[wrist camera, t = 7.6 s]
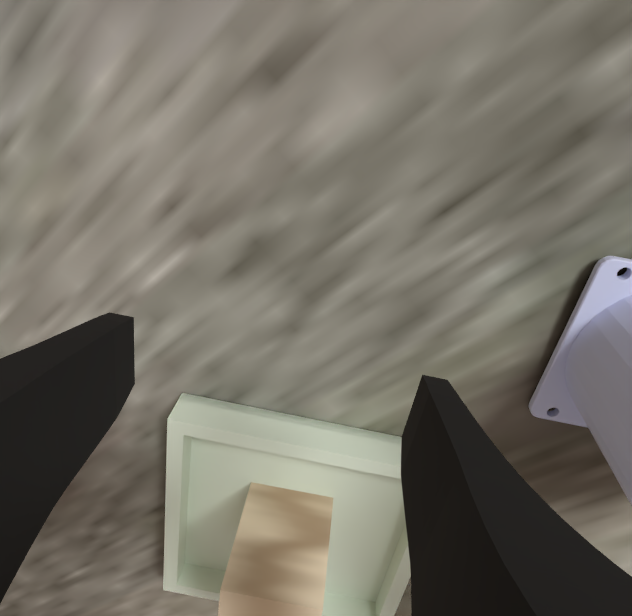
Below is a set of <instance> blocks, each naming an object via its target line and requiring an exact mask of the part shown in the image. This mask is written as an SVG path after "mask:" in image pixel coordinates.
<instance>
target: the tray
mask: <svg viewBox="0 0 632 616" xmlns="http://www.w3.org/2000/svg"><path fill="white" fill-rule="evenodd" d="M401 443H402V437H399V436H394V435H389V434H384V433H379V432H375V431H370V430H365V429H360V428H355V427H350V426H345V425H340V424H335V423H330V422H325V421H320V420H315V419H310V418H305V417H300V416H295V415H290V414H285V413H280V412H275V411H270V410H265V409H260V408H255V407H250V406H245V405H240V404H235V403H230V402H226V401H221V400H216V399H211V398H206V397H201V396H196V395H191V394H186V393H182V394H181V396H180V397H179V399H178V401H177V403H176V405H175V406H174V408H173V410H172V412H171V413H170V415H169V417H168V419H167V456H166V496H165V537H164V578H163V590H166V591H171V592H176V593H181V594H185V595H190V596H195V597H200V598H205V599H209V600H214V601H219V599H220V589H221V586H222V582H223V579H224V575H225V572H226V568H227V565H228V561H229V558H230V554H231V551H232V547H233V544H234V540H235V537H236V533H237V530H238V526H239V523H240V519H241V516H242V512H243V509H244V505H245V502H246V498H247V495H248V491H249V488H250V484H251V482H253V483H258V484H264V485H269V486H274V487H280V488H285V489H290V490H295V491H301V492H306V493H311V494H317V495H322V496H327V497H332V498H333V508H332V519H331V529H330V540H329V551H328V561H327V572H326V582H325V593H324V604H323V612H322V615H321V616H394V615H395V612H396V610H397V608H398V605H399V603H400V601H401V598H402V596H403V593H404V591H405V589H406V586H407V584H408V582H409V579H410V577H411V569H410V557H409V548H408V539H407V530H406V520H405V511H404V502H403V492H402V482H401Z"/></svg>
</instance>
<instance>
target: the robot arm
mask: <svg viewBox="0 0 632 616" xmlns="http://www.w3.org/2000/svg"><path fill="white" fill-rule="evenodd" d="M625 267H627V271H626V272H625V273H624V274H623V275H621V276H617V272H618V271H619V270H620V269H622V268H625ZM134 384H135V377H134V317H129V316H124V315H119V314H114V313H107V314H104V315H102V316H99V317H97V318H94V319H92V320H90V321H87V322H85V323H83V324H81V325H78V326H76V327H74V328H72V329H70V330H67V331H65V332H63V333H61V334H58V335H56V336H54V337H52V338H49V339H47V340H45V341H43V342H40V343H38V344H36V345H33V346H31V347H29V348H26V349H24V350H21V351H18V352H16V353H13V354H11V355H8V356H6V357H3V358H1V359H0V603H1V601H2V599H3V597H4V595H5V593H6V591H7V590H8V588H9V586H10V584H11V582H12V580H13V578H14V577H15V575H16V573H17V571H18V569H19V567H20V566H21V564H22V562H23V560H24V558H25V556H26V555H27V553H28V551H29V549H30V547H31V545H32V544H33V542H34V540H35V539H36V537H37V535H38V533H39V532H40V530H41V528H42V526H43V525H44V523H45V521H46V519H47V518H48V516H49V514H50V512H51V511H52V509H53V507H54V506H55V504H56V503H57V501H58V500H59V498H60V497H61V495H62V494H63V492H64V491H65V489H66V488H67V487H68V485H69V484H70V482H71V481H72V480H73V478H74V477H75V476H76V474H77V473H78V471H79V470H80V469H81V467H82V466H83V464H84V463H85V462H86V460H87V459H88V457H89V456H90V455H91V453H92V452H93V451H94V449H95V448H96V446H97V445H98V444H99V442H100V441H101V439H102V438H103V437H104V435H105V434H106V432H107V431H108V430H109V428H110V427H111V425H112V424H113V422H114V421H115V419H116V418H117V416H118V415H119V413H120V411H121V409H122V407H123V405H124V404H125V402H126V400H127V398H128V396H129V394H130V392H131V390H132V388H133V386H134ZM528 407H529V410H530V412H531V414H532V415H533V416H535V417H537V418H542V419H547V420H552V421H557V422H562V423H567V424H572V425H577V426H582V427H587V428H589V430H590V432H591V434H592V436H593V437H594V439H595V441H596V443H597V445H598V446H599V448H600V450H601V452H602V454H603V455H604V457H605V459H606V461H607V463H608V464H609V466H610V468H611V470H612V472H613V473H614V475H615V477H616V479H617V481H618V482H619V484H620V486H621V488H622V490H623V491H624V493H625V495H626V497H627V499H628V500H629V502H630V504H631V506H632V259H626V258H621V257H616V256H606V257H603V258H602V259H600V260H599V261H598V262H597V263H596V265H595V266H594V268H593V270H592V273H591V275H590V277H589V279H588V281H587V283H586V285H585V287H584V289H583V291H582V293H581V296H580V298H579V300H578V302H577V304H576V306H575V308H574V310H573V312H572V314H571V316H570V319H569V321H568V323H567V325H566V327H565V329H564V331H563V333H562V335H561V337H560V339H559V342H558V344H557V346H556V348H555V350H554V352H553V354H552V356H551V358H550V360H549V362H548V365H547V367H546V369H545V371H544V373H543V375H542V377H541V379H540V381H539V383H538V385H537V388H536V390H535V392H534V394H533V396H532V398H531V400H530V402H529V406H528ZM550 408H555V409H554V410H552V411H548V410H549V409H550ZM401 482H402V492H403V502H404V511H405V520H406V530H407V539H408V548H409V557H410V569H411V600H412V616H632V577H631V576H630V575H629V574H627V573H626V572H625V571H623V570H622V569H621V568H620V567H618V566H617V565H616V564H614V563H613V562H612V561H611V560H609V559H608V558H607V557H606V556H605V555H603V554H602V553H601V552H600V551H598V550H597V549H596V548H595V547H594V546H592V545H591V544H590V543H589V542H588V541H587V540H586V539H584V538H583V537H582V536H581V535H580V534H579V533H578V532H577V531H575V530H574V529H573V528H572V527H571V526H570V525H569V524H568V523H566V522H565V521H564V520H563V519H562V518H561V517H560V516H559V515H558V514H557V513H556V512H555V511H554V510H553V509H552V508H551V507H550V506H549V505H548V504H547V503H546V502H545V501H544V500H543V499H542V498H541V497H540V496H539V495H538V494H537V493H536V492H535V491H534V490H533V489H532V488H531V487H530V486H529V485H528V484H527V483H526V482H525V481H524V479H523V478H522V477H521V476H520V475H519V474H518V473H517V472H516V470H515V469H514V468H513V467H512V466H511V464H510V463H509V462H508V461H507V460H506V459H505V457H504V456H503V455H502V454H501V453H500V451H499V450H498V449H497V448H496V446H495V445H494V444H493V443H492V441H491V440H490V439H489V437H488V436H487V435H486V433H485V432H484V431H483V429H482V428H481V427H480V425H479V424H478V423H477V421H476V420H475V418H474V417H473V416H472V414H471V413H470V411H469V410H468V409H467V407H466V406H465V404H464V403H463V401H462V400H461V399H460V397H459V396H458V394H457V393H456V391H455V390H454V388H453V387H452V386H451V384H450V383H449V382H448V380H445V379H440V378H435V377H430V376H425V375H422V378H421V381H420V384H419V387H418V390H417V393H416V396H415V399H414V402H413V405H412V408H411V411H410V414H409V417H408V420H407V423H406V426H405V429H404V432H403V435H402V443H401Z"/></svg>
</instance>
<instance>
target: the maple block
mask: <svg viewBox="0 0 632 616" xmlns="http://www.w3.org/2000/svg"><path fill="white" fill-rule="evenodd" d="M332 508H333V498H332V497H327V496H322V495H317V494H311V493H306V492H301V491H295V490H290V489H285V488H280V487H274V486H269V485H264V484H258V483H253V482H251V484H250V488H249V491H248V495H247V498H246V502H245V505H244V509H243V512H242V516H241V519H240V523H239V526H238V530H237V533H236V537H235V540H234V544H233V547H232V551H231V554H230V558H229V561H228V565H227V568H226V572H225V575H224V579H223V582H222V586H221V589H220V599H219V611H218V616H321V615H322V612H323V604H324V593H325V582H326V572H327V561H328V551H329V540H330V529H331V519H332Z"/></svg>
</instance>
